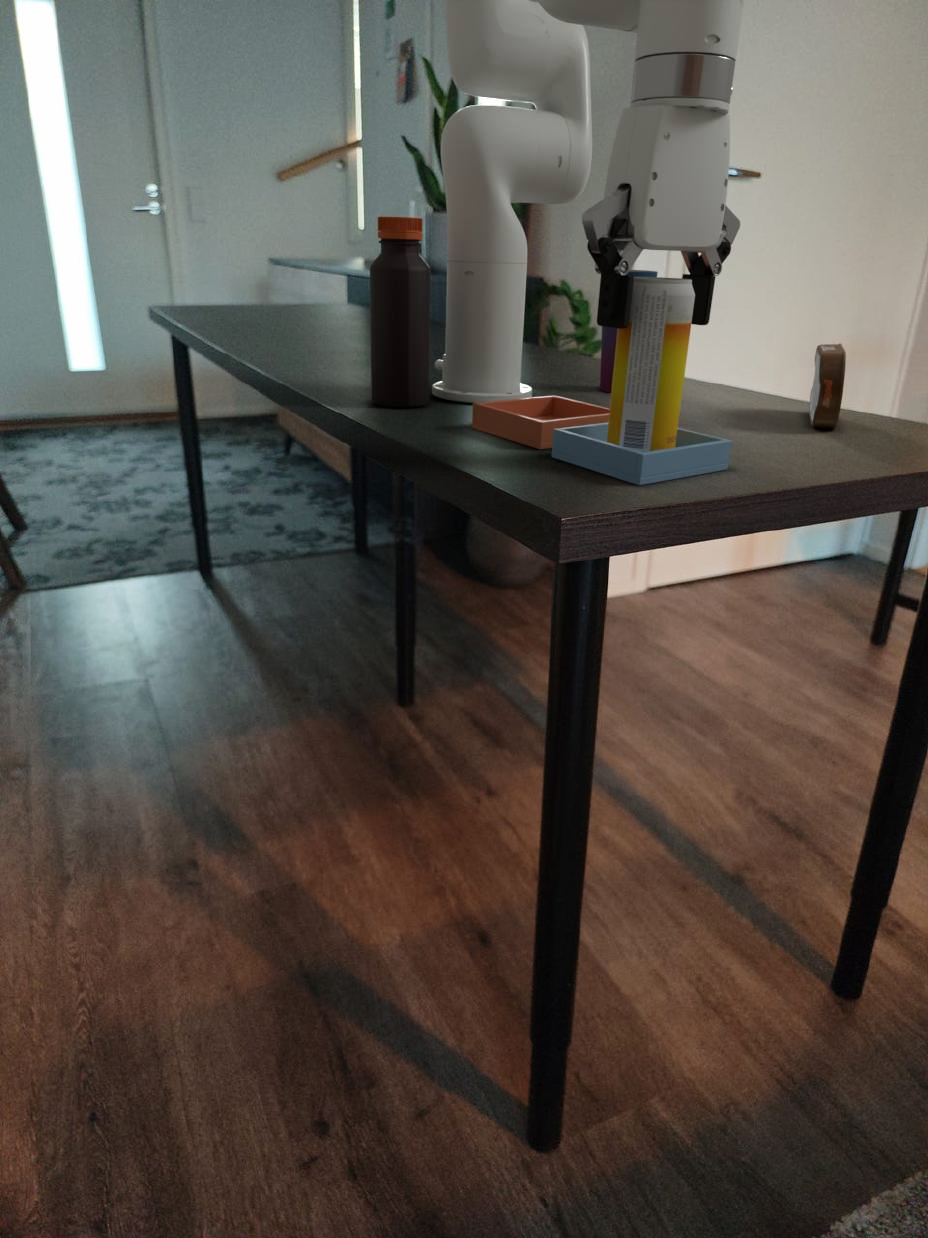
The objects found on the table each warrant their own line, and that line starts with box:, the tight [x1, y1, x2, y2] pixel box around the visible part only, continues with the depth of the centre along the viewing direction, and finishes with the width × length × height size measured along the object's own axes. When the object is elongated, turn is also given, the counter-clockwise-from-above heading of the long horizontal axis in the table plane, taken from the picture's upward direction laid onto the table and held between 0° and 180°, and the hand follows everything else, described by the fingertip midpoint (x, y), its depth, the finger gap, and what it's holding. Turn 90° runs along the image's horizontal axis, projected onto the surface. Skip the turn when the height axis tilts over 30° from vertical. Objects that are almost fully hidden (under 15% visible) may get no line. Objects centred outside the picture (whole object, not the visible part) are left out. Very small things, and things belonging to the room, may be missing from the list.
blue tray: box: [550, 422, 733, 486], centre depth 77 cm, size 11×11×3 cm
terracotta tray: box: [471, 394, 610, 451], centre depth 88 cm, size 11×11×3 cm
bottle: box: [369, 216, 432, 409], centre depth 97 cm, size 7×7×20 cm
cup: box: [599, 269, 659, 393], centre depth 112 cm, size 7×7×15 cm
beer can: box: [607, 276, 695, 452], centre depth 74 cm, size 6×6×15 cm
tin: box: [808, 342, 847, 430], centre depth 97 cm, size 15×3×8 cm, turn 161°
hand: (653, 325), depth 73 cm, fingers open, 9 cm apart
